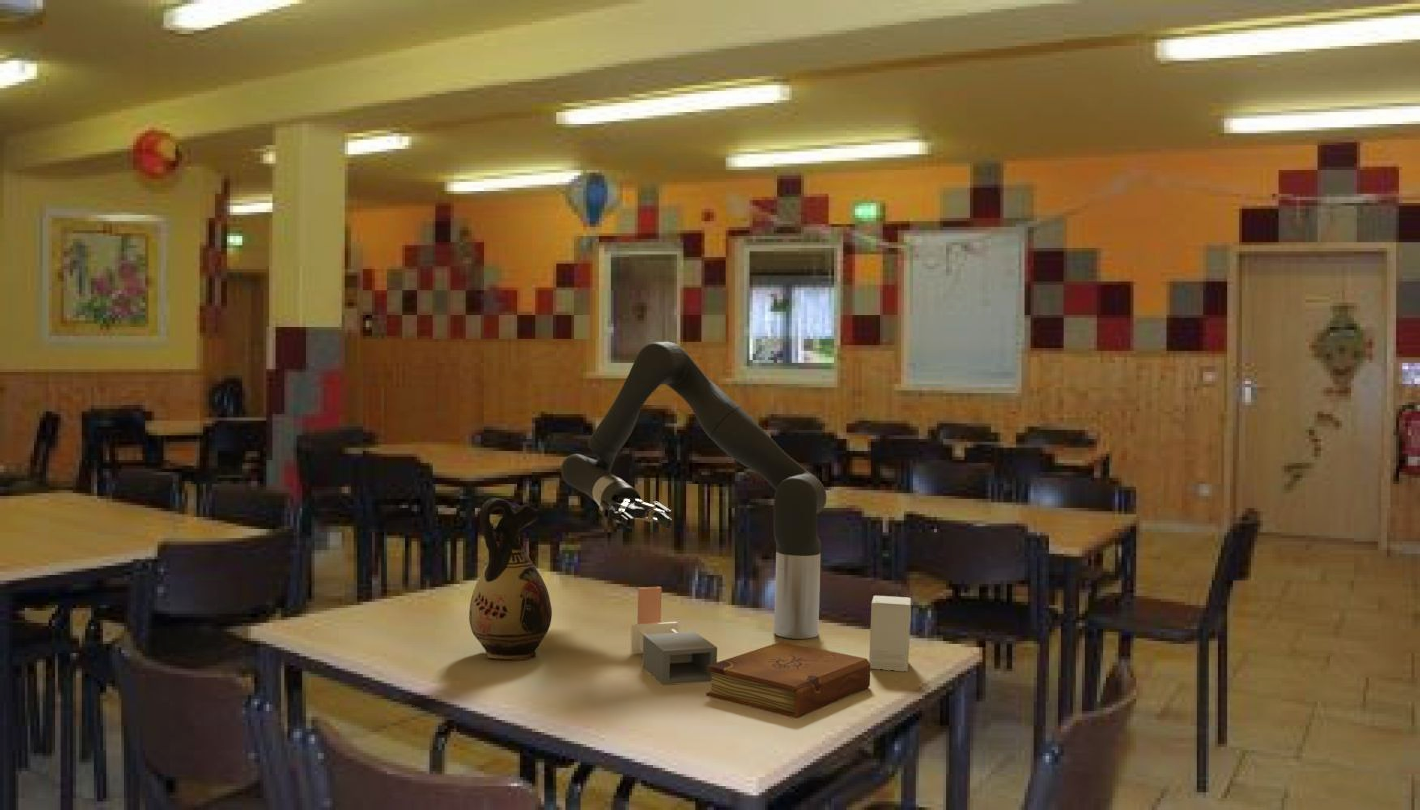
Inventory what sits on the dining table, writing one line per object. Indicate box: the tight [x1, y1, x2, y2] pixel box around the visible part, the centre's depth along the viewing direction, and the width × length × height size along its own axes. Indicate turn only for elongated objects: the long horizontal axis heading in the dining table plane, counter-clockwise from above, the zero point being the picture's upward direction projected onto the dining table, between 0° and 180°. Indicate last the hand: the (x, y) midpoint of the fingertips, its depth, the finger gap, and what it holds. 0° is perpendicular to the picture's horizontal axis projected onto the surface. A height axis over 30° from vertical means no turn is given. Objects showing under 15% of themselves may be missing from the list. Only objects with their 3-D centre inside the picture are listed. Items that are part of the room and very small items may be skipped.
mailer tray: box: [630, 586, 692, 663], centre depth 220 cm, size 9×17×12 cm, turn 20°
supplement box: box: [868, 595, 912, 672], centre depth 220 cm, size 7×7×13 cm
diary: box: [705, 641, 871, 719], centre depth 201 cm, size 23×19×6 cm
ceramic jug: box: [468, 497, 553, 661], centre depth 220 cm, size 17×15×30 cm
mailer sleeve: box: [642, 631, 718, 686], centre depth 211 cm, size 10×12×6 cm
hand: (650, 524), depth 235 cm, fingers open, 8 cm apart
